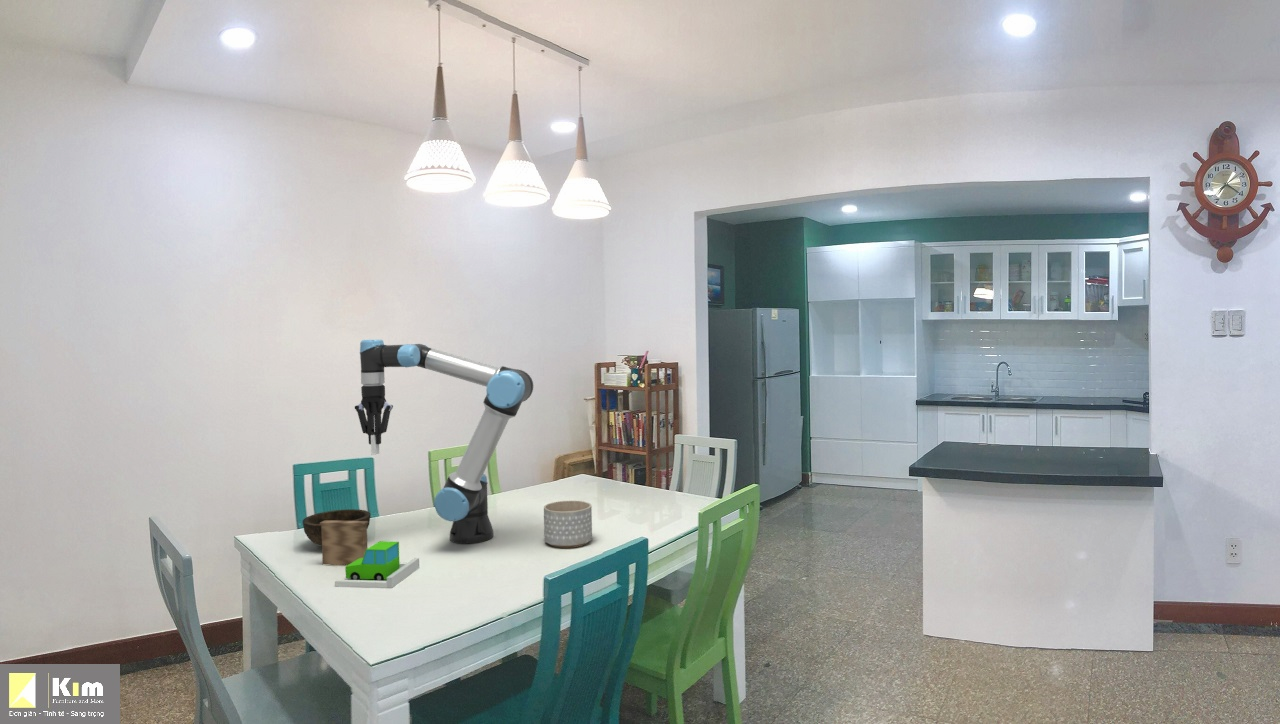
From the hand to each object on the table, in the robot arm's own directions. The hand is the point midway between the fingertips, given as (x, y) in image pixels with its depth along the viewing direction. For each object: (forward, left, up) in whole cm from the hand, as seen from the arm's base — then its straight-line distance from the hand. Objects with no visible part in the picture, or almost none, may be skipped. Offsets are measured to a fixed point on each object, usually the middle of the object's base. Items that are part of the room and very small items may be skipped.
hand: (375, 453), depth 243 cm
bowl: (+16, -2, -33) cm, 36 cm away
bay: (-14, +28, -32) cm, 45 cm away
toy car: (-13, +29, -33) cm, 46 cm away
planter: (-64, -11, -33) cm, 73 cm away
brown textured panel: (+2, +18, -32) cm, 37 cm away
